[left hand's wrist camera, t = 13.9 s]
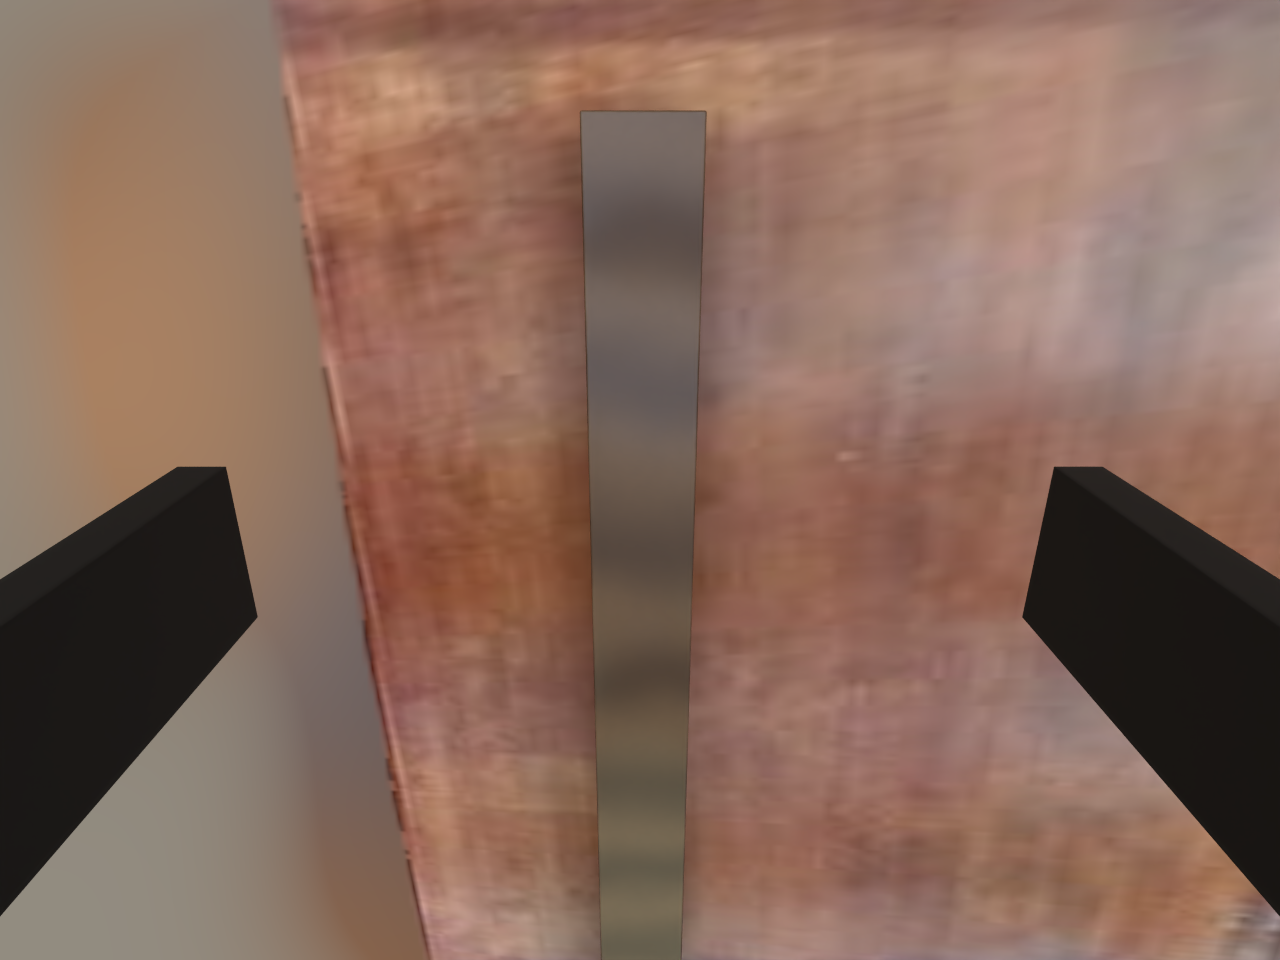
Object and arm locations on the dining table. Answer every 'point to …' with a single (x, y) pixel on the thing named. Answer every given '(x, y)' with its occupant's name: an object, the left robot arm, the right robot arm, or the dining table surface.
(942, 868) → the dining table surface
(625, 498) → the wooden plank
